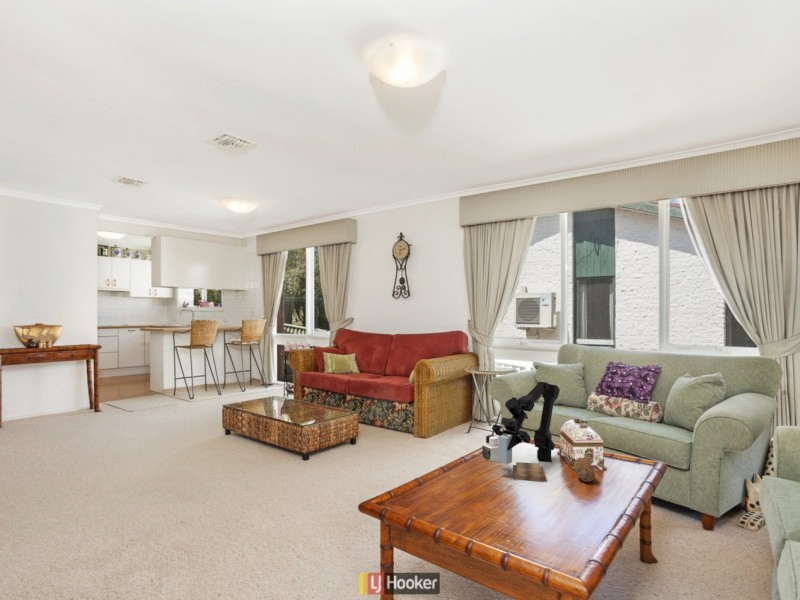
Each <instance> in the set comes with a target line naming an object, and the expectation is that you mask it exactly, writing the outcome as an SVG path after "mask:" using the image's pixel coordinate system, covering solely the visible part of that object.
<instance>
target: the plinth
mask: <svg viewBox="0 0 800 600" xmlns="http://www.w3.org/2000/svg"><path fill="white" fill-rule="evenodd" d="M512 472H513V480H515V481H517V480H518V481H528V482H529V481H531V482H544V483H547V476H546V473H545V470H544V468H543V466H542V465H541V464H540V463H537V462H523V461H522V462H521V461H516V462H515V464H512Z"/></svg>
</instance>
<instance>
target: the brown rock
mask: <svg viewBox="0 0 800 600" xmlns="http://www.w3.org/2000/svg"><path fill="white" fill-rule="evenodd" d="M573 470H574V472H575V474H576V475H577V476H578V477H579V478H580V480H582V481H583V482H588V483H590V482H592V481H594V479H595V477H596V471H595V469H594V467H593V466H592V463H591V462H590V460H589V459H588V458H586V457H585V456H584V457H580V458H577V459H575V461H574V463H573Z"/></svg>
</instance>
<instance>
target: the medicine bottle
mask: <svg viewBox="0 0 800 600" xmlns="http://www.w3.org/2000/svg"><path fill="white" fill-rule="evenodd" d="M482 459H484V460H486V461H488V462H491V461H492V462H497V460H498V435H496V434H495V435H494V434H488V435H486V436H485V443H484V444H482ZM492 462H491V463H492Z"/></svg>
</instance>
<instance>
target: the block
mask: <svg viewBox="0 0 800 600" xmlns="http://www.w3.org/2000/svg"><path fill="white" fill-rule="evenodd" d="M497 437H498V444H497V445H498V463H500V464H504V465H509V464H511V463H513V448H511V449H510V450H507V448H508V445H509V443H510V441H511V439H512V435H508V434H506V435H501V436H498V435H497Z"/></svg>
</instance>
